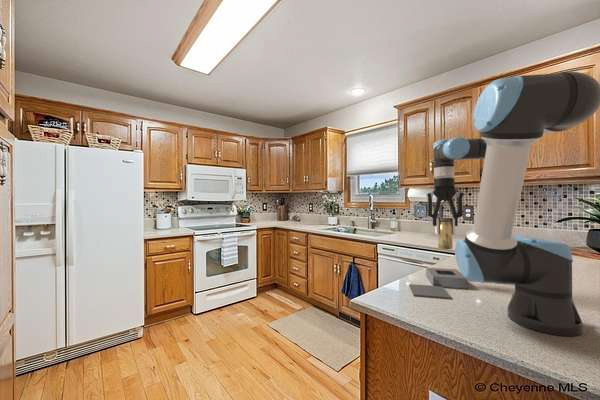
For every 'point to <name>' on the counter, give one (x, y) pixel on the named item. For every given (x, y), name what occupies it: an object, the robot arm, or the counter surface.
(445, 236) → the glass jar
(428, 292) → the mat
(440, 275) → the block
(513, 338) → the counter surface
